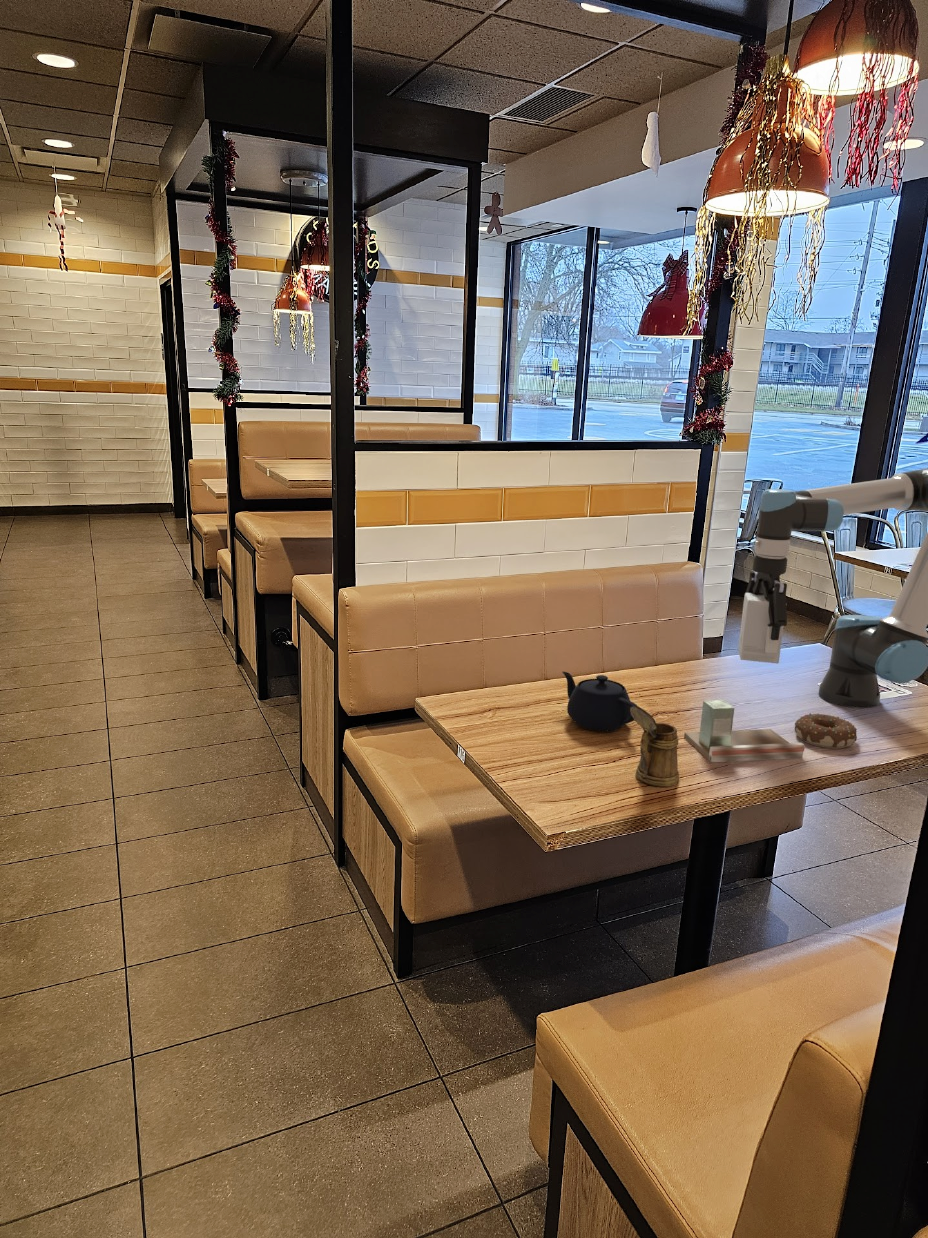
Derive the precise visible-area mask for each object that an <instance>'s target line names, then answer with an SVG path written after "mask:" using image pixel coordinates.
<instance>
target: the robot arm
mask: <svg viewBox="0 0 928 1238" xmlns="http://www.w3.org/2000/svg"><path fill="white" fill-rule="evenodd" d="M758 509H759V513H758V520H757V529H756V530H757V532H756V540H755V542H754V545H755V546H754V554H755V555H754V556H753V560H752V561H753V563H752V570H753V571H750V573H749V580H748V583H747V586H746V591H745V593H753V594H755V595H764V598H765V599H766V600H767V601H768V602H769V609H768V612H769V619H770V624H768V629H767V637H766V645H765V652H766V653H777V648H778V640H779V633H780V627H781V626H784V627H786V626H787V625H788V618H787V617H788V616H787V612H788V611H787V606H786V604H787V589H788V585H787V583H786V582H784V583H783V582H781V579H780V576H781V575H784V574H785V573H786V572H787V567H788V558H787V557H788V556H789V554H790V553H789V552H790V544H791V536H792V532H801V531H802V532H822V533H824V532H831V531H836V530H838V529H839V528H840V526H841V525H842V523H843V521H844V516H845V515H852V514H858V513H859V514H860V513H867V512H874V511H879V510H881V511H882V510H888V509H895V510H896V511H900V512H902V511H911V510H912V511H922V512H923V511H924V512H928V467H927V468H922V469H921V468H920V469H917V470H910V471H904V472H898V473H895V474H894V475H893V476H891V478H890V477H889V478H884V479H875V480H869V481H868V480H867V481H861V482H855V483H853V482H852V483H846V484H840V485H833V486H825V487H818V488H811V489H810V488H809V489H805V490H803V489H802V490H797V491H795V490H791V489H783V488H781V489H780V488H779V489H778V488H769V489H766V490H764V491H763V492H762V494H761V500H760V505H759V507H758ZM926 516H927V519H928V515H926ZM923 539H924V540H923V541H922V544H921V545H920V548H919V550H918V553H917V554H916V557H915V559H914V561H913V563H912V565H911V568H910V570H909V573H907V575H906V578H905V581H904V583H903V585H902V587H901V590H900V592H899V594H898V597H897V598H896V600H895V602H894V605H893V607H892V610H891V611H890V614H888V615H887V616H885V617H881V616H875V615H867V614H866V615H862V614H846V615H841V616H839V617H837V620H836V623H835V627H834V628H833V629H834V634H833V641H832V648H831V653H830V654H831V655H830V662H829V667H828V669H827V671H826V673H825V674H824V677H823V679H822V682H821V683H820V684H819V687H818V695H819V697H820V698H822V699H823V700H825V701H827V702H829V703H832V704H836V705H839V706H845V707H850V708H859V709H861V708H862V709H863V708H864V709H867V708H868V709H869V708H874V707H877V706H879V705H880V702H881V701H880V699H881V692H880V685H879V681H878V677H879V678H881V679H883V680H886V681H889V682H891V683H894V684H907V683H910V682H911V681H914V680H916V679H918V678H919V677H920V676H922V675H923V673H924V672H925V671H926V670H927V669H928V647H927V642H928V631H927V627H928V531H927V532H926V535H925V537H924V538H923ZM743 604H744V599H743V600H742V603H741V607H742V609H743ZM877 676H878V677H877Z"/></svg>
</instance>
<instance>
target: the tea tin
mask: <svg viewBox="0 0 928 1238" xmlns="http://www.w3.org/2000/svg"><path fill="white" fill-rule="evenodd" d="M734 716H735V707H734V706H733V705H732V704H730V703H728V701H726V700H724V699H718V700H717V699H716V700H715V699H714V700H711V699H710V700H703V701H702V711H701V720H700V729H699V732H700V736H699V742H700V743H701V744H702V745H703V746H704V747H705V748H706V749H707V750H708V751H710V747H715V746H730V741H731V733H732V731H733V725H734V724H733V723H734Z"/></svg>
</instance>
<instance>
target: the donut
mask: <svg viewBox="0 0 928 1238" xmlns="http://www.w3.org/2000/svg"><path fill="white" fill-rule="evenodd" d="M857 731H858V729H857V728H856V726H855V724H853V723H852V722H850V721H848V720H846V719H843V718H841V717H839V716H835V715H832V714H824V713H823V714H822V713H819V712H817V713H813V714H812V713H809V714H804V715H803V716H800V717H799V718H798V719H797V720H796V721H795V723H794V732H795V733H796V735H797V736H798V738H799V739H801V740H802V741H803V742H805V743H807V744H809V745H812V746H816V747H819V748H825V749H843V748H847V747H848V746H849V747H850V746H851V745H852V744H853V743H854V742H856V741H857V740H858V739H857V738H858V737H857Z"/></svg>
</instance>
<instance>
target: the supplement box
mask: <svg viewBox="0 0 928 1238" xmlns="http://www.w3.org/2000/svg"><path fill="white" fill-rule="evenodd" d="M743 600H744V604H743V608H742V615H741V621H740V631H739V640H738V645H737V647H738V648H737V651H738V655H739V658H740V660H741V661H748V662H749V661H751V662H759V663H769V664H778V665H779V663H780V656H781V655H780V654H781V647H782V643H783V636H784V635H783V634H784V627H785V626H781V627H780V633H779V640H778V648H777V653H766V652H765V645H766V637H767V629H768V624H770V619H769V612H768V609H769V602H768V601H767V600H766V599H765V598H764V595H755V594H753V593H746V592H745V593H744V597H743ZM787 605H788V604H787V603H786V607H788V606H787Z"/></svg>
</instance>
